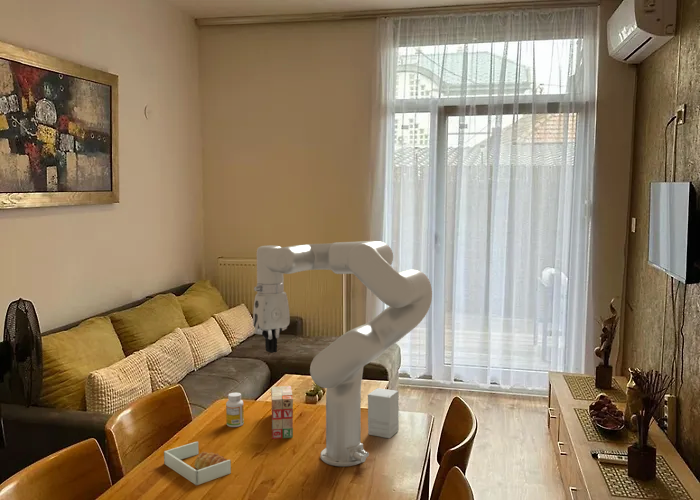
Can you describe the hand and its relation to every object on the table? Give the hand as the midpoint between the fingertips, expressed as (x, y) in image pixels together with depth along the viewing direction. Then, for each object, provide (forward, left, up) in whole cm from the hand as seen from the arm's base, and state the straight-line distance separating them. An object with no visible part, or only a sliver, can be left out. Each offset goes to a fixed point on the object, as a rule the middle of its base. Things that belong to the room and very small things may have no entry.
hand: (271, 351), depth 182 cm
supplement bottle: (+20, 0, -27) cm, 34 cm away
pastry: (-3, +22, -28) cm, 35 cm away
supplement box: (-17, -29, -27) cm, 43 cm away
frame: (0, +25, -27) cm, 37 cm away
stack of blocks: (+9, -10, -28) cm, 31 cm away
